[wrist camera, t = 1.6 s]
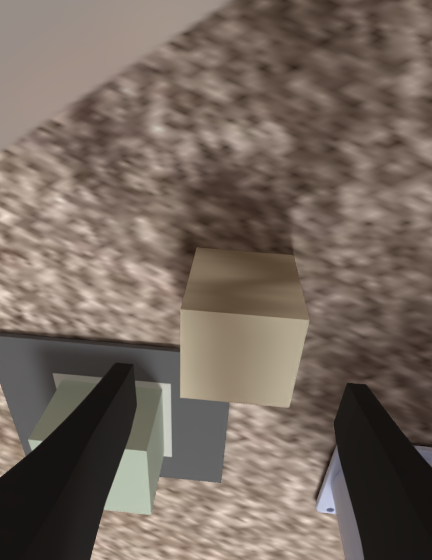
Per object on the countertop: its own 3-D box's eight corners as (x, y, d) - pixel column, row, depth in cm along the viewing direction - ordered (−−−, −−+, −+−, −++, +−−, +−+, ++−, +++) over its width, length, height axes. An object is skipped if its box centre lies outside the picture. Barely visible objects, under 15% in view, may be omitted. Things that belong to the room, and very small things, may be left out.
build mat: (234, 353, 20) (234, 357, 20) (221, 478, 26) (221, 482, 26) (-14, 331, 21) (-18, 335, 20) (30, 459, 27) (28, 463, 27)
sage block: (162, 389, 22) (146, 451, 18) (164, 451, 25) (151, 514, 21) (62, 380, 22) (27, 439, 18) (76, 443, 25) (49, 504, 21)
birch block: (293, 254, 17) (309, 320, 13) (279, 330, 19) (289, 407, 15) (196, 246, 17) (180, 309, 13) (194, 323, 19) (180, 397, 15)
